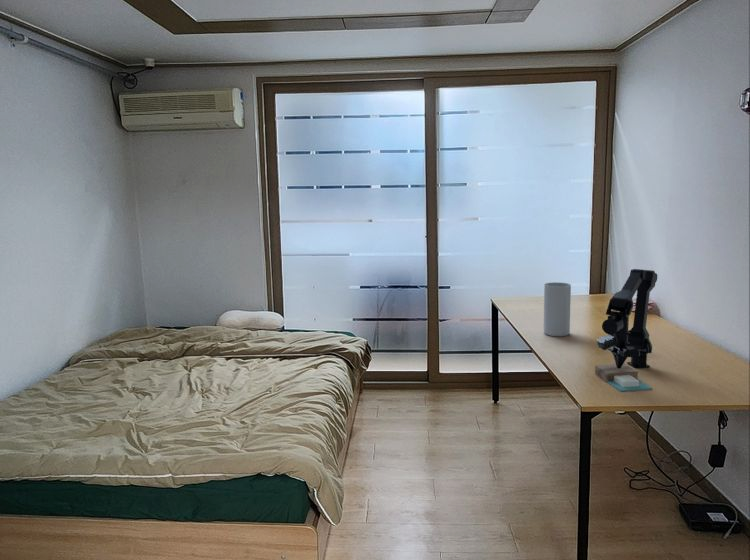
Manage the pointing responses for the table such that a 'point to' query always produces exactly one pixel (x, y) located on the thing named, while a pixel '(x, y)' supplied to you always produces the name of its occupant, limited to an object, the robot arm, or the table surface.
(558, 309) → the cylinder vase
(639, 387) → the mat
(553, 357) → the table surface
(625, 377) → the tile
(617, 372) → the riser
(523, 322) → the table surface
